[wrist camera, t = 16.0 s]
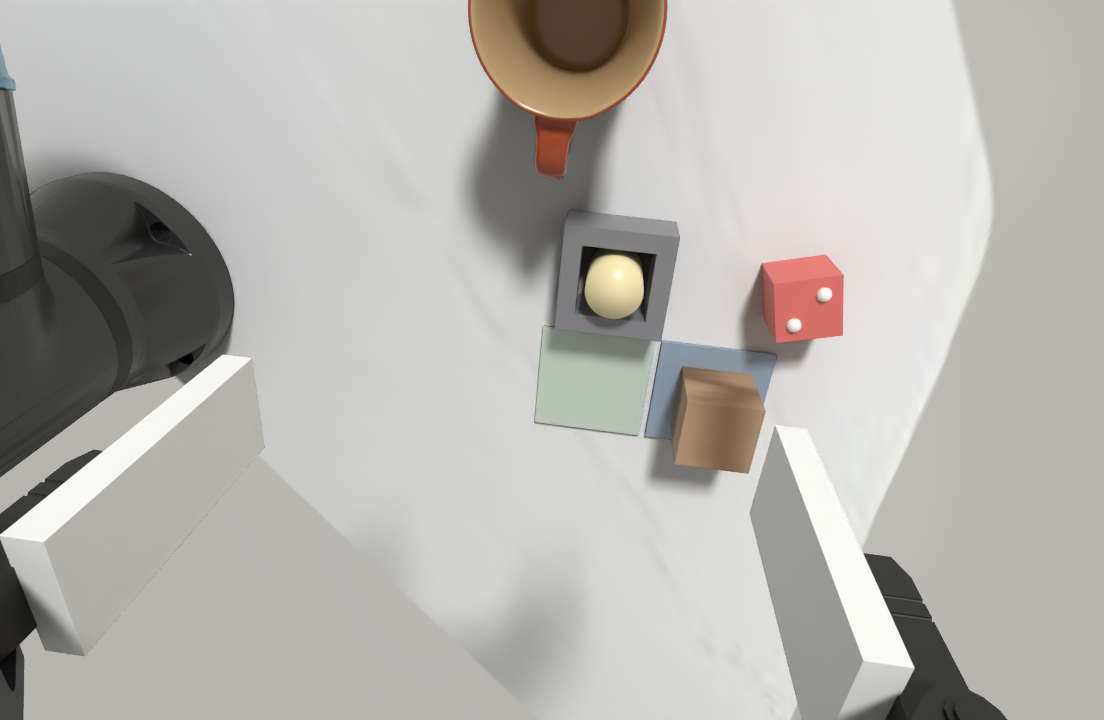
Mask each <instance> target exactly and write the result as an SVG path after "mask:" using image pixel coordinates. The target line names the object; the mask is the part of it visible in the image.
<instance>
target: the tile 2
mask: <svg viewBox="0 0 1104 720" xmlns="http://www.w3.org/2000/svg"><path fill="white" fill-rule="evenodd" d="M776 358H777V355H776V354H770V353H762V352H754V351H745V350H737V349H729V348H721V347H713V346H704V345H696V344H688V343H680V342H672V341H663V340H662V345H661V350H660V355H659V361H658V366H657V372H656V377H655V383H654V388H653V394H652V399H651V404H650V410H649V415H648V421H647V426H646V432H645V436H647V437H655V438H663V439H670V440H672V435H671V426H670V424H671V419H672V414H673V409H674V404H675V399H676V394H677V388H678V383H679V378H680V373H681V368H682V366H685V367H693V368H701V369H710V370H718V371H727V372H735V373H744V374H752V375H753V378H754V381H755V383H756V386H757V389H758V392H759V394H760V397H761V400H762V403H763V405H764V401H765V397H766V394H767V390H768V387H769V383H770V379H771V376H772V372H773V369H774V365H775V361H776Z"/></svg>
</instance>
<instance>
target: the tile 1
mask: <svg viewBox="0 0 1104 720" xmlns="http://www.w3.org/2000/svg"><path fill="white" fill-rule="evenodd" d="M554 328H555V327H549V326H543V334H542V345H541V356H540V368H539V379H538V390H537V402H536V413H535V422H539V423H547V424H555V425H562V426H570V427H578V428H585V429H593V430H601V431H609V432H616V433H624V434H632V435H639V430H640V425H641V419H642V414H643V408H644V402H645V397H646V391H647V386H648V380H649V374H650V369H651V363H652V357H653V352H654V346H655V341H651V340H643V339H635V338H627V337H619V336H610V335H602V334H594V333H586V332H578V331H569V330H561V329H554Z"/></svg>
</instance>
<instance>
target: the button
mask: <svg viewBox="0 0 1104 720" xmlns="http://www.w3.org/2000/svg"><path fill="white" fill-rule="evenodd" d="M643 295H644V286H643V271H642V263H641V260H640V258H639V256H638V255H637V254H636V253H635V252H633V251H625V250H616V249H607V248H600V249H599V250H598V251H597V252H595V254H594V255H593V256H592V258H591V260H590V262H589V266H588V272H587V279H586V285H585V297H586V301H587V303H588V305H589V306H590V308H591V309H592V310H593V311H594V312H595V313H597V314H598V315H600V316H602V317H605V318H609V319H619V318H623V317H626V316H628V315H630V314H632V313H633V312H634V311H635V310H636V309H637V308H638V307H639V306H640V304H641V302H642V299H643Z"/></svg>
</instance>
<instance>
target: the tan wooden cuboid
mask: <svg viewBox="0 0 1104 720" xmlns="http://www.w3.org/2000/svg"><path fill="white" fill-rule="evenodd" d="M765 412H766V411H765V408H764V405H763V403H762V400H761V397H760V394H759V392H758V389H757V386H756V383H755V381H754V378H753V375H752V374H744V373H735V372H727V371H718V370H710V369H701V368H693V367H685V366H682V368H681V373H680V378H679V383H678V388H677V394H676V399H675V404H674V409H673V414H672V419H671V424H670V426H671V435H672V444H673V453H674V462H675V464H676V465H684V466H692V467H700V468H708V469H716V470H723V471H731V472H739V473H747V474H749V470H750V466H751V463H752V459H753V455H754V452H755V448H756V444H757V441H758V437H759V434H760V430H761V426H762V423H763V419H764V415H765Z"/></svg>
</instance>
